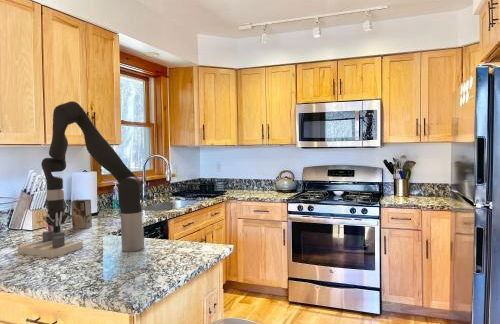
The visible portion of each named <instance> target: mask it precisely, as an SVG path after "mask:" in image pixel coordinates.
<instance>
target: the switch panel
mask: <svg viewBox="0 0 500 324" xmlns="http://www.w3.org/2000/svg"><path fill="white" fill-rule="evenodd" d="M64 242H65V246H63V247H59V248H56V249H54V248H53V242H52V241H48V242H45V243H43V238H42V239H39V240H36V241H32V242H28V243H24V244H20V245H18V246H17V253H18V254H24V255H31V256H37V257H44V258H50V259H54V258H57V257H59V256H63V255H66V254H68V253H72V252H74V251H78V250H80V249H83V248H84V247H83V246H84V245H83V244H84V242H83V241H81V240H79V241H76V242H74V241H73V239H68V240H67V239H66V240H65V241H64Z"/></svg>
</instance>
